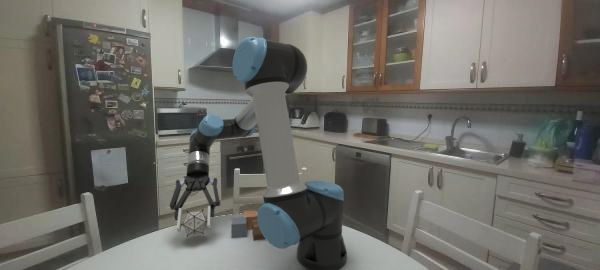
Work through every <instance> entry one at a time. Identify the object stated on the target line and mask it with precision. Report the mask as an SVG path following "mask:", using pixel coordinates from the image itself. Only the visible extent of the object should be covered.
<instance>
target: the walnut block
mask: <svg viewBox="0 0 600 270" xmlns="http://www.w3.org/2000/svg"><path fill="white" fill-rule="evenodd" d="M251 230H252V238H253V239H252V240H253V241H263V240H267V239H266V238H265V237H264V236H263V234H262V233H261V231H260V228H259V225H258V221H257V220H252V229H251Z"/></svg>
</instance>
